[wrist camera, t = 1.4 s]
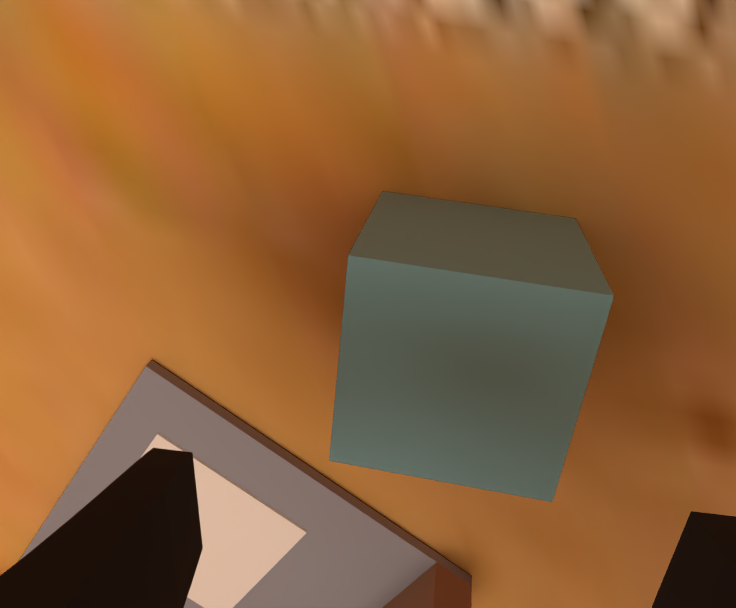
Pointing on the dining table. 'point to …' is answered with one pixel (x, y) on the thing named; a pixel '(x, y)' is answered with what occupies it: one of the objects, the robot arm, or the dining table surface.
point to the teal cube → (466, 344)
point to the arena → (263, 514)
